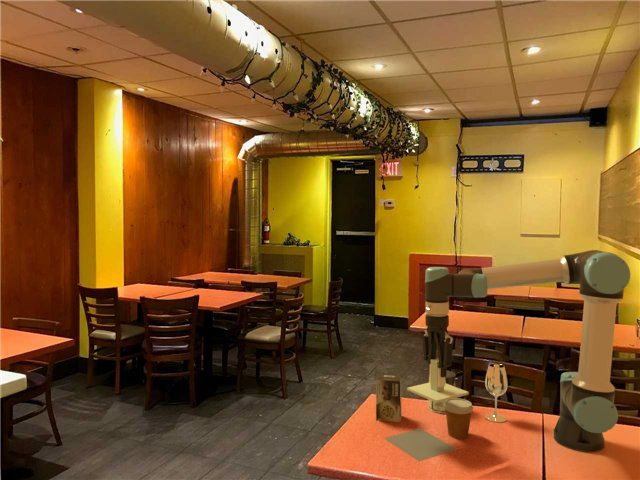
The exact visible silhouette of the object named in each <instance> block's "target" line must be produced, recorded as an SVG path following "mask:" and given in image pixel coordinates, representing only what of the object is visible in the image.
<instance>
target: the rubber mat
mask: <svg viewBox="0 0 640 480" xmlns="http://www.w3.org/2000/svg"><path fill="white" fill-rule="evenodd" d="M383 439H384V440H386V441H387V442H388V443H390V444H391V445H394V446H395V447H396V448H397V449H399V450H401V451H402V452H404V453H406V454H407V455H409V456H411V458H414V459H415V460H416V461H418V462H421V461H424V460H427V459H431V458H435V457H438V456H440V455H444V454H447V453H451V452H454V451H457V450H459V449H458V448H457V447H454V446H453V445H452V444H450V443H448V442H446V441H444V440H442V439H440V438H439V437H437V436H435V435H433V434H431V432H430V433H429V432H428V431H426V430H424V429H422V428H416V429H414V430H408V431H406V432H402V433H397V434H394V435H391V436H390V435H389V436H386V437H383Z"/></svg>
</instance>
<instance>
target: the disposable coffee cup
mask: <svg viewBox="0 0 640 480" xmlns="http://www.w3.org/2000/svg"><path fill="white" fill-rule="evenodd" d="M444 407H445V409H446V414H445V418H446V426H447V427H446V428H447V434H448V436H449V437H451V438H453V439H458V440H462V439H467V438H468V437H469V431H470V424H471V416H472V412H473V410H474V406H473V403H472V402H471V401H469V400H467V399H465V398H460V397H457V398H454V399H450V400H446V402H445V404H444Z"/></svg>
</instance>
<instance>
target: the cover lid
mask: <svg viewBox="0 0 640 480" xmlns="http://www.w3.org/2000/svg"><path fill="white" fill-rule="evenodd" d="M438 366H439V358H437V357H436V359H431V384H430V382H429V381H428V382H426V383H421V384H417V385H413V386H409V387H407V388H406V391H408V392H410V393H413V394H415V395H418V396H420V397H422V398H424V399H427V400H428V401H429V400H431V401H433V402H435V403H439V402H442V401H446V400H450V399H454V398H461V397H464V396H468V395H469V394H470V393H469V391H467V390H465V389H462V388H460V387H456V386H455V387H454V386H451V385H449V384H446V383H445V386H443V387H438Z"/></svg>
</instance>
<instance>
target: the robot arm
mask: <svg viewBox="0 0 640 480" xmlns="http://www.w3.org/2000/svg"><path fill="white" fill-rule="evenodd" d="M424 275H425V276H424V277H425V280H424V288H425V290H424V292H425V293H424V294H425V295H424V296H425V297H424V300H425V301H424V302H425V307H424V308H425V317H424V318H425V319H424V321H425V326H426V327H427V328H426V329H425V330H421V332H420V335H421V337H422V339H421V340H422V350H423V353H422V354H423V360H424V361H426V362H427V364H428V374H429V373H430V384H431V359H436V358H437V357H438V359H439V366H438V387H443V386H445V377H446V370H447V369H448V367H452V364H453V363H452V360H453V359H452V358H453V348H454V342H455V337H454V336H450V335H449V332H448V327H449V326H450V316H449V313H450V302H449V301H450V297H452V298H454V297H457V298H475V299H476V298H486V297H487V295H488V290H494V289H505V288H513V287H523V286H532V285H543V284H544V285H545V284H551V283H553V284H554V283H564V284H566V285H573V284H575V285H576V284H577V285H578V284H579V290H578V291H579V293H578V295H580V297H581V298H582V299H583V311H582V323H581V335H580V337H581V338H580V346H579V347H580V349H579V360H578V371H566V372H563V373H561V375H560V381H559V383H560V387H559V388H560V391H559V392H560V394H559V396H560V397H559V399H560V401H559V416H558V420H557V422H556V423H555V426H554V429H553V440H554V441H555V442H557V444H558V445H561V446H563V447H566V448H568V449H571V450H573V451H574V450H575V451H579V452H588V453H589V452H592V453H593V452H600V451H603V450H604V448H605V437H604V433H607V432H608V431H609V430H611V429H613V428H614V427H615V426H616V425H617V423H618V419H619V413H618V410H617V406H616V405H615V404H614V403H615V395H616V394H615V393H616V387H615V386H614V385H613V384H612V383H611V371H612V363H613V349H614V337H615V325H616V314H617V305H618V303H619V302H622V301H623V300H624V293H625V291H624V290H625V288H626V287H627V286H628V284H630V280H631V270H630V267H629V265H628V263H627V262H626V260H625V259H623V258H622V257H620V256H619V255H617V254H616V253H613V252H608V251H603V250H598V249H595V250H594V249H592V250H585V251H581V252H577V253H576V252H575V253H572V254H571V253H570V254H566V255H565V254H564V255H563V254H562V255H561V256H560V258H558V259H548V260H539V261H531V262H524V263H523V262H522V263H515V264H514V263H513V264H506V265H505V264H504V265H497V266H488V267H481V268H473V269H472V268H463V269H461V270H460V271H458V272H457V273H450V271H449V268H448V267H445V266H430V267H427V268H426V269H425V274H424Z"/></svg>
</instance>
